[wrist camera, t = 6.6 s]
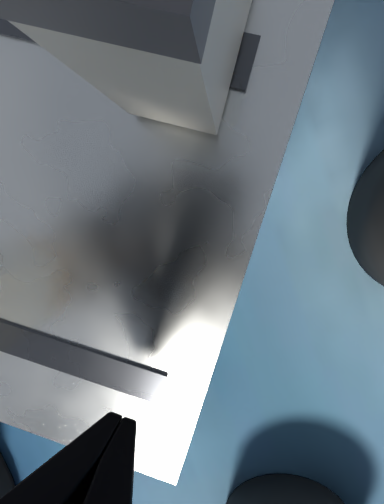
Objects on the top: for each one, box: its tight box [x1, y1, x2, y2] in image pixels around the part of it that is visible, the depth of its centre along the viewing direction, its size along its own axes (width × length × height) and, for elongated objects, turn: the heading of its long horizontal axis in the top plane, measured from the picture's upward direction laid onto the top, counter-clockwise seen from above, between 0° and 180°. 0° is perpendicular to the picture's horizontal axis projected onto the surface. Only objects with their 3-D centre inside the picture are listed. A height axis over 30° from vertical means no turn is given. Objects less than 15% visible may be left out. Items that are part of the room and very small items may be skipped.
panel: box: [0, 0, 334, 485], centre depth 9 cm, size 14×18×3 cm
